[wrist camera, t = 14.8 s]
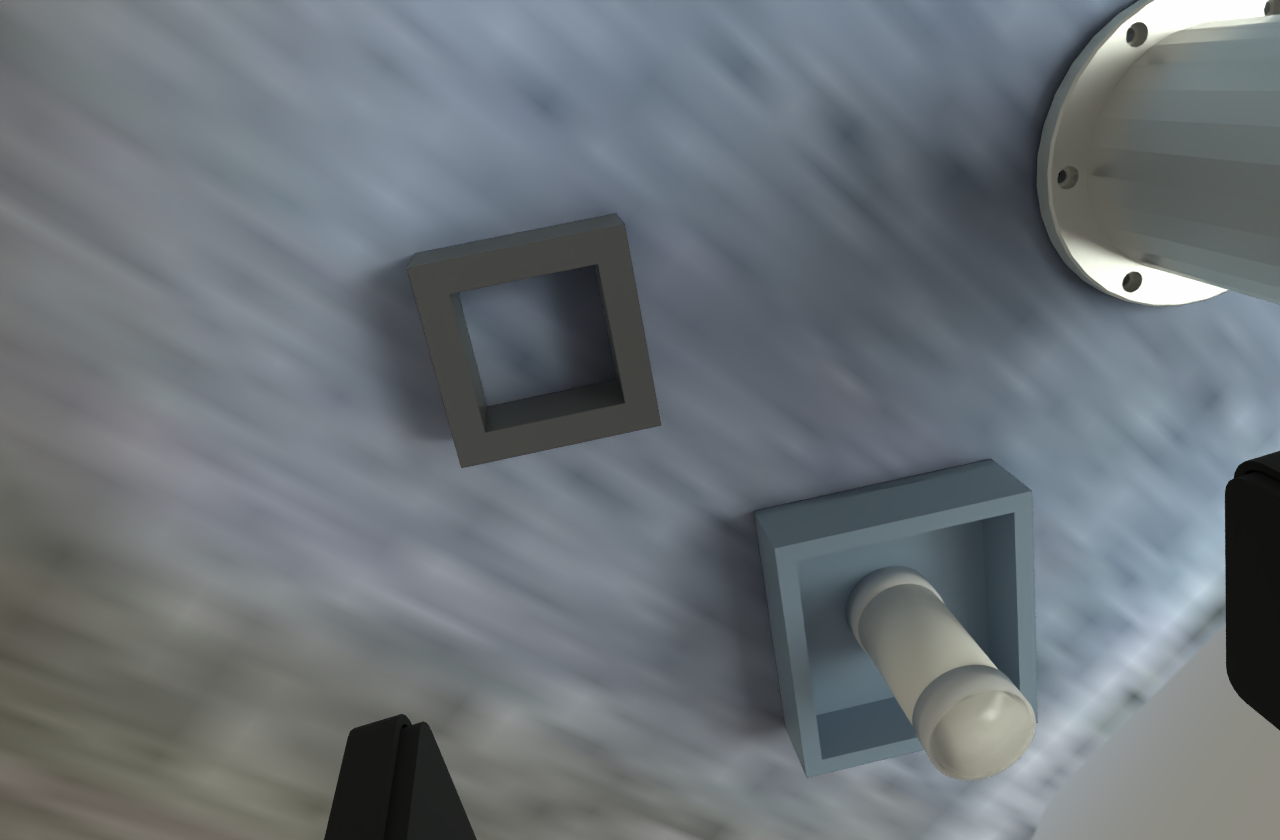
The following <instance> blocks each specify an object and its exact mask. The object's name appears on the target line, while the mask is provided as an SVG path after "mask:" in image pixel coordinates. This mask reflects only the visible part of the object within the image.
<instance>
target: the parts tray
mask: <svg viewBox="0 0 1280 840" xmlns="http://www.w3.org/2000/svg"><path fill="white" fill-rule="evenodd" d="M754 517H755V524H756V531H757V538H758V544H759V551H760V558H761V565H762V571H763V578H764V585H765V592H766V598H767V605H768V612H769V619H770V626H771V632H772V639H773V646H774V653H775V659H776V666H777V673H778V680H779V687H780V693H781V700H782V707H783V714H784V720H785V727H786V730H787V732H788V734H789V737H790V739H791V742H792V744H793V746H794V749H795V751H796V753H797V756H798V758H799V761H800V763H801V765H802V768H803V770H804V772H805V775H806V777H807V778H808V777H812V776H816V775H821V774H825V773H829V772H833V771H837V770H842V769H846V768H850V767H854V766H858V765H863V764H867V763H871V762H875V761H879V760H884V759H888V758H892V757H896V756H900V755H905V754H909V753H913V752H917V751H921V750H924V748H923V747H922V745H921V744H920V742H919V740H918V739H917V737H916V735H915V733H914V730H913V726H912V724H911V722H910V721H909V719H908V718H907V716H906V714H905V713H904V711H903V710H902V708H901V706H900V705H899V703H898V702H897V700H896V698H895V697H894V695H893V693H892V692H891V690H890V689H889V687H888V685H887V684H886V682H885V681H884V679H883V677H882V676H881V674H880V673H879V671H878V669H877V668H876V666H875V664H874V663H873V661H872V660H871V658H870V656H869V655H868V654H867V653H866V652H865V651H864V650H863V649H862V648H861V646H860V644H859V643H858V641H857V640H856V638H855V636H854V635H853V633H852V632H851V630H850V628H849V626H848V624H847V621H846V613H845V611H846V604H847V600H848V598H849V595H850V594H851V592H852V590H853V589H854V587H855V586H856V585H857V584H858V583H859V582H860V581H861V580H862V579H863V578H864V577H866V576H867V575H869V574H870V573H872V572H874V571H876V570H879V569H882V568H885V567H891V566H903V567H908V568H911V569H914V570H916V571H917V572H919V573H920V574H922V575H923V576H924V577H925V578H926V579H927V581H928V582H929V583H930V584H931V585H932V587H933V588H934V589H935V590H936V591H937V593H938V594H939V595H940V597H941V598H942V600H943V602H944V605H945V606H946V607H947V608H948V609H949V611H950V612H951V613H952V614H953V615H954V617H955V618H956V619H957V620H958V622H959V623H960V624H961V625H962V626H963V628H964V629H965V630H966V631H967V632H968V634H969V635H970V636H971V637H972V638H973V640H974V641H975V642H976V643H977V644H978V646H979V647H980V648H981V649H982V650H983V652H984V653H985V654H986V655H987V657H988V658H989V659H990V660H991V661H992V663H993V664H994V665H995V666H996V667H997V669H998V670H1000V671H1001V672H1003V673H1004V674H1005V675H1006V676H1007V677H1008V678H1009V679H1010V680H1011V681H1012V683H1013V684H1014V685H1015V686H1016V687H1017V689H1018V690H1019V691H1020V692H1021V693H1022V695H1023V696H1024V697H1025V698H1026V699H1027V701H1028V702H1029V703H1030V705H1031V706H1032V708H1033V711H1034V714H1035V720H1036V723H1038V717H1037V673H1036V629H1035V586H1034V542H1033V499H1032V490H1030V489H1029V488H1028V487H1027V486H1025V485H1024V484H1023V483H1021V482H1020V481H1019V480H1018V479H1016V478H1015V477H1014V476H1012V475H1011V474H1010V473H1009V472H1007V471H1006V470H1005V469H1004V468H1002V467H1001V466H1000V465H998V464H997V463H996V462H995V461H993V460H992V459H988V460H984V461H979V462H975V463H970V464H965V465H961V466H956V467H952V468H947V469H943V470H938V471H934V472H929V473H925V474H920V475H916V476H911V477H906V478H902V479H897V480H893V481H888V482H884V483H879V484H875V485H870V486H866V487H861V488H857V489H852V490H848V491H843V492H838V493H834V494H829V495H825V496H820V497H816V498H811V499H807V500H802V501H798V502H793V503H789V504H784V505H780V506H775V507H770V508H766V509H761V510H757V511H754Z"/></svg>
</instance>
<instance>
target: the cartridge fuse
mask: <svg viewBox="0 0 1280 840" xmlns="http://www.w3.org/2000/svg"><path fill="white" fill-rule="evenodd" d="M845 613H846V621H847V624H848V626H849V628H850V630H851V632H852V633H853V635H854V636H855V638H856V640H857V641H858V643H859V644H860V646H861V648H862V649H863V650H864V651H865V652H866V653H867V654H868V655H869V656H870V658H871V660H872V661H873V663H874V664H875V666H876V668H877V669H878V671H879V673H880V674H881V676H882V677H883V679H884V681H885V682H886V684H887V685H888V687H889V689H890V690H891V692H892V693H893V695H894V697H895V698H896V700H897V702H898V703H899V705H900V706H901V708H902V710H903V711H904V713H905V714H906V716H907V718H908V719H909V721H910V722H911V724H912V726H913V730H914V733H915V735H916V737H917V739H918V740H919V742H920V744H921V745H922V747H923V748H924V750H925V752H926V753H927V755H928V757H929V758H930V760H931V761H932V763H933V764H934V766H935V767H936V768H937V769H938V770H939V771H940V772H941V773H943V774H945V775H946V776H949V777H951V778H954V779H958V780H965V781H972V780H981V779H985V778H989V777H992V776H994V775H997V774H999V773H1001V772H1003V771H1004V770H1006V769H1007V768H1009V767H1010V766H1012V765H1013V764H1014V763H1015V762H1017V761H1018V760H1019V759H1020V758H1021V757H1022V755H1023V754H1024V753H1025V752H1026V750H1027V749H1028V747H1029V745H1030V743H1031V741H1032V739H1033V736H1034V733H1035V726H1036V720H1035V714H1034V711H1033V708H1032V706H1031V705H1030V703H1029V702H1028V701H1027V699H1026V698H1025V697H1024V696H1023V695H1022V693H1021V692H1020V691H1019V690H1018V689H1017V687H1016V686H1015V685H1014V684H1013V683H1012V681H1011V680H1010V679H1009V678H1008V677H1007V676H1006V675H1005V674H1004V673H1003V672H1001V671H1000V670H998V669H997V667H996V666H995V665H994V664H993V663H992V661H991V660H990V659H989V658H988V657H987V655H986V654H985V653H984V652H983V650H982V649H981V648H980V647H979V646H978V644H977V643H976V642H975V641H974V640H973V638H972V637H971V636H970V635H969V634H968V632H967V631H966V630H965V629H964V628H963V626H962V625H961V624H960V623H959V622H958V620H957V619H956V618H955V617H954V615H953V614H952V613H951V612H950V611H949V609H948V608H947V607H946V606H945V605H944V602H943V600H942V598H941V597H940V595H939V594H938V593H937V591H936V590H935V589H934V588H933V587H932V585H931V584H930V583H929V582H928V581H927V579H926V578H925V577H924V576H923V575H922V574H920V573H919V572H917V571H916V570H914V569H911V568H908V567H903V566H891V567H885V568H882V569H879V570H876V571H874V572H872V573H870V574H869V575H867V576H866V577H864V578H863V579H862V580H861V581H860V582H859V583H858V584H857V585H856V586H855V587H854V589H853V590H852V592H851V594H850V595H849V598H848V600H847V604H846V611H845Z"/></svg>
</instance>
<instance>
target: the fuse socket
mask: <svg viewBox="0 0 1280 840" xmlns="http://www.w3.org/2000/svg"><path fill="white" fill-rule="evenodd" d="M590 265H595V270H596V275H597V280H598V285H599V290H600V295H601V300H602V305H603V311H604V316H605V321H606V326H607V331H608V336H609V341H610V346H611V351H612V356H613V361H614V366H615V371H616V377H617V380H612V381H608V382H603V383H598V384H593V385H588V386H584V387H579V388H574V389H569V390H565V391H560V392H555V393H550V394H546V395H541V396H536V397H531V398H527V399H522V400H517V401H512V402H508V403H503V404H498V405H493V406H489V407H487V403H486V399H485V396H484V392H483V388H482V384H481V380H480V376H479V372H478V368H477V364H476V360H475V356H474V352H473V348H472V345H471V341H470V337H469V333H468V329H467V325H466V321H465V317H464V313H463V309H462V305H461V301H460V297H459V294H458V292H462V291H467V290H472V289H477V288H482V287H487V286H492V285H497V284H501V283H506V282H511V281H516V280H521V279H526V278H531V277H536V276H541V275H546V274H551V273H556V272H561V271H566V270H571V269H575V268H580V267H585V266H590ZM407 271H408V275H409V278H410V282H411V286H412V289H413V293H414V297H415V300H416V304H417V308H418V311H419V315H420V319H421V322H422V326H423V330H424V333H425V337H426V341H427V344H428V348H429V352H430V355H431V359H432V363H433V366H434V370H435V374H436V377H437V381H438V385H439V388H440V392H441V396H442V399H443V403H444V407H445V410H446V414H447V418H448V421H449V425H450V429H451V432H452V436H453V440H454V443H455V447H456V451H457V454H458V458H459V462H460V465H461V468H464V467H469V466H474V465H478V464H483V463H488V462H493V461H497V460H502V459H507V458H511V457H516V456H521V455H525V454H530V453H535V452H539V451H544V450H549V449H553V448H558V447H563V446H567V445H572V444H577V443H581V442H586V441H591V440H595V439H600V438H605V437H609V436H614V435H619V434H623V433H628V432H633V431H638V430H642V429H647V428H652V427H656V426H661V421H660V416H659V410H658V405H657V399H656V394H655V388H654V383H653V377H652V372H651V366H650V361H649V355H648V350H647V344H646V339H645V333H644V328H643V322H642V317H641V311H640V306H639V300H638V295H637V289H636V284H635V278H634V273H633V267H632V262H631V256H630V251H629V245H628V240H627V234H626V229H625V224H624V223H623V221H622V220H621V219H620V218H619V216H618V215H617V214H616V213H615V214H610V215H605V216H600V217H595V218H590V219H585V220H580V221H575V222H570V223H565V224H560V225H555V226H549V227H544V228H539V229H534V230H529V231H524V232H519V233H514V234H509V235H504V236H499V237H494V238H489V239H484V240H479V241H474V242H469V243H464V244H459V245H454V246H449V247H444V248H439V249H434V250H429V251H424V252H419V253H415V255H414V257H413V258H412V260H411V261H410V263H409V265H408V266H407Z"/></svg>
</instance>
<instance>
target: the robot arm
mask: <svg viewBox="0 0 1280 840" xmlns="http://www.w3.org/2000/svg"><path fill="white" fill-rule="evenodd" d="M1126 34H1127V38H1126ZM1059 173H1060V178H1059V179H1058V181H1057V178H1058V174H1059ZM1037 192H1038V199H1039V205H1040V211H1041V216H1042V219H1043V222H1044V225H1045V227H1046V230H1047V233H1048V235H1049V238H1050V241H1051V242H1052V244H1053V246H1054V247H1055V249H1056V250H1057V252H1058V253H1059V255H1060V256H1061V258H1062V260H1063V261H1064V263H1065V264H1066V265H1067V266H1068V267H1069V268H1070V269H1071V270H1072V271H1073V272H1074V273H1075V274H1076V275H1078V276H1079V277H1080V278H1081V279H1082V280H1083V281H1084V282H1086V283H1088V284H1089V285H1091V286H1093V287H1094V288H1096V289H1098V290H1099V291H1101V292H1103V293H1105V294H1108V295H1110V296H1113V297H1116V298H1118V299H1121V300H1124V301H1127V302H1131V303H1136V304H1142V305H1147V306H1152V307H1158V306H1182V305H1186V304H1191V303H1196V302H1200V301H1205V300H1208V299H1210V298H1213V297H1215V296H1218V295H1220V294H1222V293H1225V292H1227V291H1234V292H1237V293H1241V294H1245V295H1248V296H1252V297H1255V298H1259V299H1262V300H1266V301H1269V302H1273V303H1276V304H1280V0H1139V1H1137V2H1136V3H1134V4H1132V5H1131V6H1129V7H1128V8H1126V9H1125V10H1123V11H1122V12H1120V13H1119V14H1118V15H1116V16H1115V17H1114V18H1113V19H1112V20H1111V21H1110V22H1109V23H1108V24H1107V25H1106V26H1104V27H1103V28H1102V29H1101V30H1100V31H1099V32H1098V33H1097V34H1096V35H1095V36H1094V37H1093V38H1092V39H1091V40H1090V42H1089V43H1088V44H1087V46H1086V47H1085V48H1084V49H1083V51H1082V52H1081V53H1080V54H1079V56H1078V57H1077V58H1076V59H1075V61H1074V62H1073V63H1072V65H1071V67H1070V68H1069V70H1068V72H1067V74H1066V76H1065V77H1064V79H1063V81H1062V83H1061V84H1060V86H1059V88H1058V90H1057V92H1056V93H1055V96H1054V99H1053V101H1052V104H1051V107H1050V109H1049V112H1048V115H1047V117H1046V120H1045V123H1044V126H1043V131H1042V136H1041V141H1040V146H1039V151H1038V156H1037ZM1225 559H1226V668H1227V674H1228V677H1229V680H1230V682H1231V684H1232V686H1233V688H1234V690H1235V691H1236V692H1237V694H1238V695H1239V696H1240V697H1241V698H1242V699H1243V700H1244V701H1245V702H1246V703H1247V704H1248V705H1249V706H1251V707H1252V708H1253V709H1254V710H1256V711H1257V712H1258V713H1259V714H1260V715H1262V716H1263V717H1264V718H1265V719H1267V720H1268V721H1269V722H1270V723H1272V724H1273V725H1274V726H1275V727H1276V728H1278V729H1279V730H1280V451H1278V452H1275V453H1272V454H1268V455H1265V456H1262V457H1258V458H1255V459H1252V460H1248V461H1245V462H1243V463H1242V464H1240V465H1239V466H1238V468H1237V469H1236V471H1235V474H1234V478H1233V479H1232V480H1230V481H1229V482H1228V484H1227V486H1226V490H1225ZM324 840H477V839H476V837H475V834H474V832H473V830H472V827H471V825H470V822H469V820H468V817H467V815H466V813H465V810H464V808H463V805H462V803H461V801H460V798H459V796H458V793H457V791H456V789H455V786H454V784H453V781H452V779H451V777H450V774H449V772H448V769H447V767H446V764H445V762H444V760H443V757H442V755H441V752H440V750H439V748H438V745H437V743H436V740H435V738H434V736H433V733H432V731H431V729H430V727H429V725H428V724H427V723H426V722H421V723H417V724H414V725H412V724H411V722H410V720H409V719H408V718H407V716H406V715H403V714H400V715H397V716H393V717H390V718H387V719H383V720H380V721H377V722H373V723H370V724H367V725H363V726H360V727H357V728H354V729H353V730H351V731H350V734H349V736H348V739H347V744H346V748H345V752H344V756H343V761H342V765H341V769H340V774H339V778H338V782H337V787H336V791H335V795H334V800H333V804H332V808H331V812H330V817H329V821H328V825H327V830H326V834H325V838H324Z"/></svg>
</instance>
